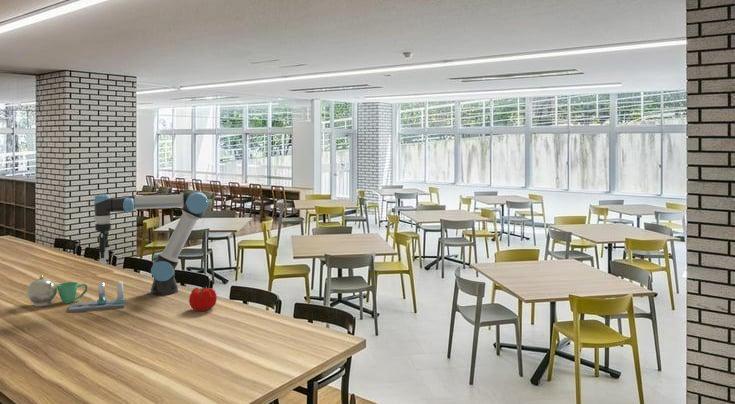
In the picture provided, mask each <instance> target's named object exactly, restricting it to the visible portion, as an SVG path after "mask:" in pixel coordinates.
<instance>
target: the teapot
mask: <svg viewBox="0 0 735 404" xmlns="http://www.w3.org/2000/svg"><path fill="white" fill-rule="evenodd" d="M57 292H58V288H57V285H56V283H55V282H54V281H53V280H51V279H50V278H45V276H44V275H43V274H41V275H40V276H39V277H38V278H37V279H35V280H33V281H32V282H31V283H30V284H29V285H28V287H27V290H26V294H27V298H28V299H29V300H30V301H31V302H32V306H33V307H35V308H46V307H49V306H51V305H53V300H54V299H55V297H56V295H57Z"/></svg>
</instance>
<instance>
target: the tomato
mask: <svg viewBox="0 0 735 404" xmlns="http://www.w3.org/2000/svg"><path fill="white" fill-rule="evenodd" d="M217 299H218V297H217V293H216V291H215V289H213V288H211V287H209V288H207V287H195V288H193V289H192V290H191V293H190V296H189V298H188V303H189V305H190V307H191V309H193V310H195V311H197V312H199V311H201V312H206V311H208V310H211V309H213V308H214V306H216V303H217Z"/></svg>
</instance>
